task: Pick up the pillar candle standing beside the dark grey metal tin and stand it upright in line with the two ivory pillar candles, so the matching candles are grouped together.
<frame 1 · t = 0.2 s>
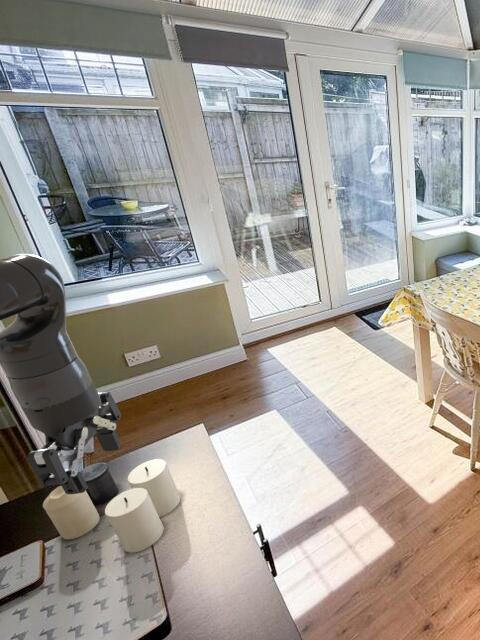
hand: (96, 469, 67), 23 cm above the table, tool pointing down, fingers open, 8 cm apart
candle a: (162, 505, 86), on the table
candle b: (144, 537, 80), on the table
candle: (81, 527, 81), on the table
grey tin: (103, 495, 87), on the table
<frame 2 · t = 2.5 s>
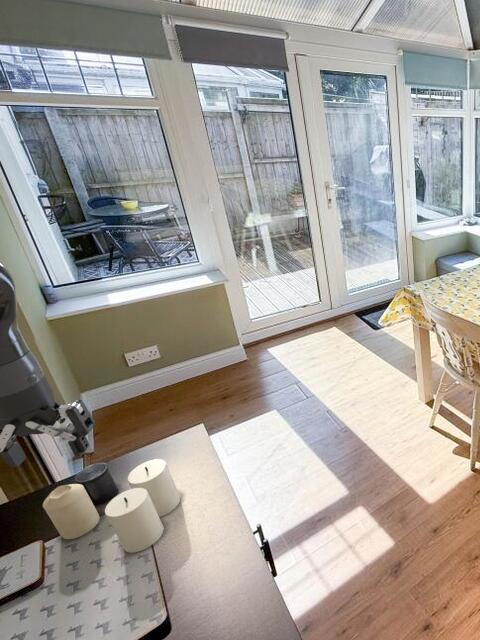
hand: (51, 457, 71), 21 cm above the table, tool pointing down, fingers open, 8 cm apart
nothing on the table moved.
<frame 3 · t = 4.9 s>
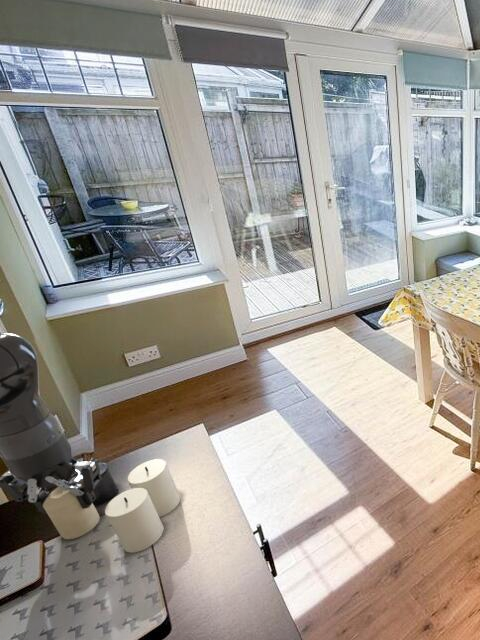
hand: (69, 507, 79), 6 cm above the table, tool pointing down, fingers closed on candle, 5 cm apart
candle: (81, 527, 81), on the table, touching gripper
everything else where it was.
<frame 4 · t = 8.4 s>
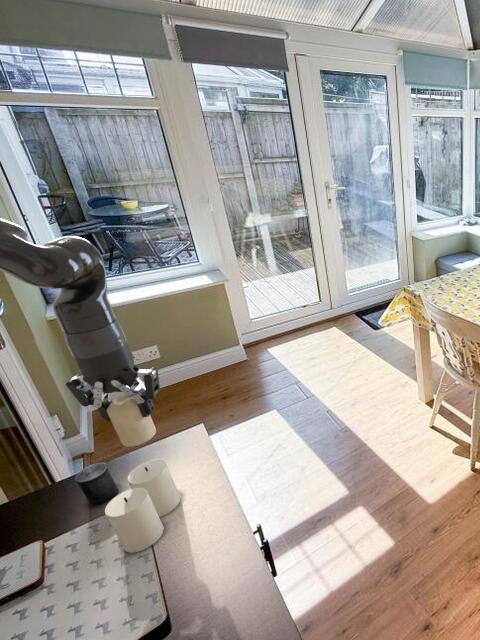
hand: (130, 416, 83), 19 cm above the table, tool pointing down, fingers closed on candle, 5 cm apart
candle: (139, 437, 85), point 14 cm above the table, touching gripper
everything else where it was.
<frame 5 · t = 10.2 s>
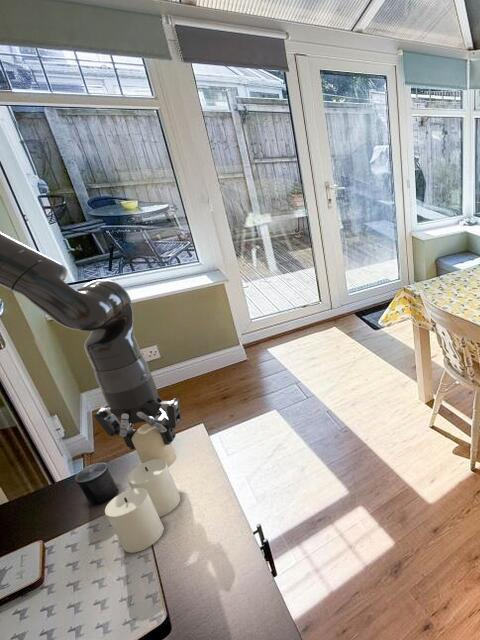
hand: (153, 443, 87), 11 cm above the table, tool pointing down, fingers closed on candle, 5 cm apart
candle: (161, 463, 90), point 5 cm above the table, touching gripper
everything else where it was.
when the fingers open (6 cm above the table, at t = 11.9 s): candle stays where it is, on the table.
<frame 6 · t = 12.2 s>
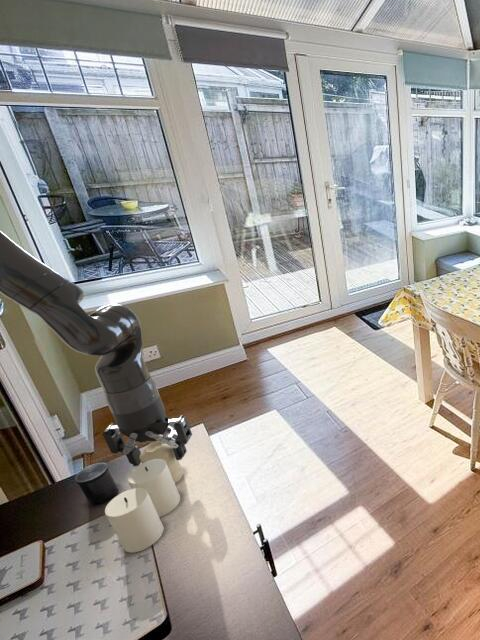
hand: (160, 459, 89), 6 cm above the table, tool pointing down, fingers open, 7 cm apart
candle: (168, 479, 92), on the table
everything else where it was.
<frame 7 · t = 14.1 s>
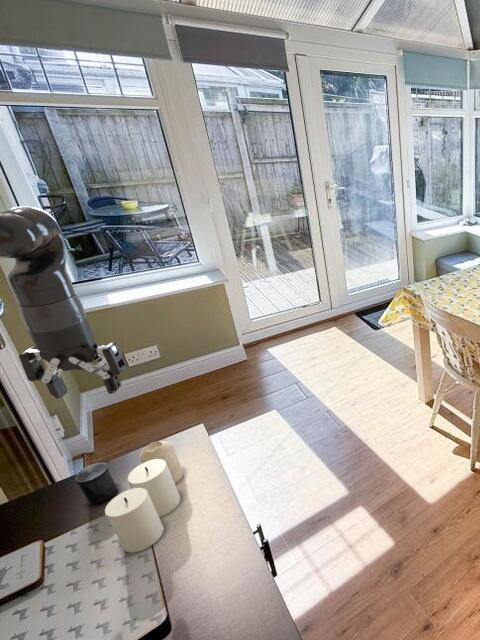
hand: (88, 393, 80), 25 cm above the table, tool pointing down, fingers open, 8 cm apart
nothing on the table moved.
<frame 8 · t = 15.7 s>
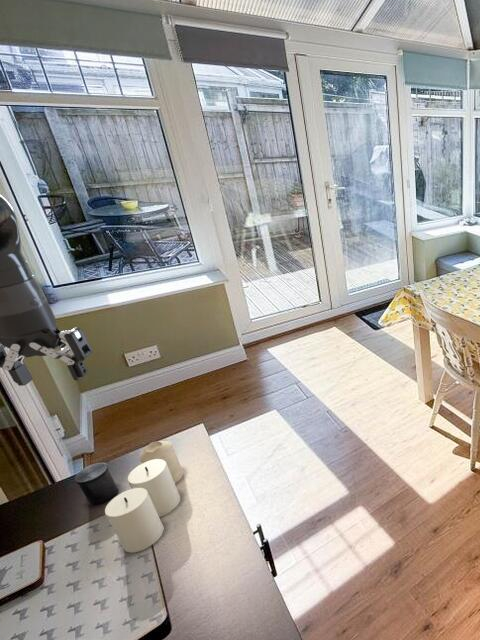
hand: (53, 380, 78), 28 cm above the table, tool pointing down, fingers open, 8 cm apart
nothing on the table moved.
at the end: candle 7.3 cm from the candle a (horizontally); candle 14.2 cm from the candle b (horizontally); candle tilted 0° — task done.
